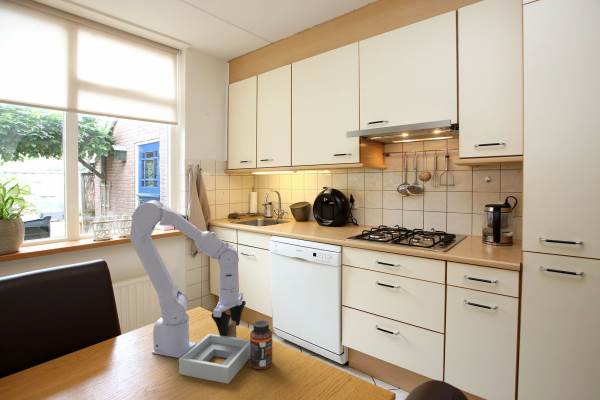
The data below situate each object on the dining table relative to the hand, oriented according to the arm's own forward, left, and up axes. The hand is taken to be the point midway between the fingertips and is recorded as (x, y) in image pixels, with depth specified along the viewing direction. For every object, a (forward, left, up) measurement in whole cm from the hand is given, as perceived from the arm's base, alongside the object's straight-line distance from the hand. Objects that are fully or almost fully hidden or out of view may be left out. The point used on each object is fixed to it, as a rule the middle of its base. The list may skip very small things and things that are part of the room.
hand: (229, 330), depth 98 cm
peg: (0, 0, -4) cm, 4 cm away
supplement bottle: (+14, -8, -4) cm, 16 cm away
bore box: (+2, -11, -4) cm, 12 cm away
